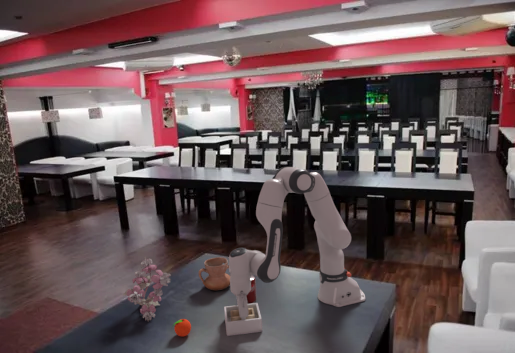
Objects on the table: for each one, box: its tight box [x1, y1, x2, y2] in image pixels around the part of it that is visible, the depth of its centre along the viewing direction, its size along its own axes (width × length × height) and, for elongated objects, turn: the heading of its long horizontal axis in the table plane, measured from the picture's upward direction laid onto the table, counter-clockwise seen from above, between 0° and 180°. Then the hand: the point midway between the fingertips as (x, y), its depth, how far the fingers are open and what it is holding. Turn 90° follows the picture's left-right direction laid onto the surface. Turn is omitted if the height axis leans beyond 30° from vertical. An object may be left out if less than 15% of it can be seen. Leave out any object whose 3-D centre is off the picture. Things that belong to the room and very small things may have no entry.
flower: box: [122, 257, 172, 322], centre depth 182 cm, size 20×22×25 cm
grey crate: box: [223, 302, 263, 337], centre depth 168 cm, size 15×13×6 cm
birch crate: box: [230, 308, 255, 321], centre depth 168 cm, size 10×6×5 cm, turn 98°
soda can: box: [246, 275, 257, 304], centre depth 188 cm, size 7×7×12 cm
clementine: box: [171, 318, 192, 338], centre depth 163 cm, size 8×7×7 cm
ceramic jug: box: [198, 256, 230, 291], centre depth 203 cm, size 18×14×14 cm
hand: (242, 315), depth 168 cm, fingers open, 8 cm apart
